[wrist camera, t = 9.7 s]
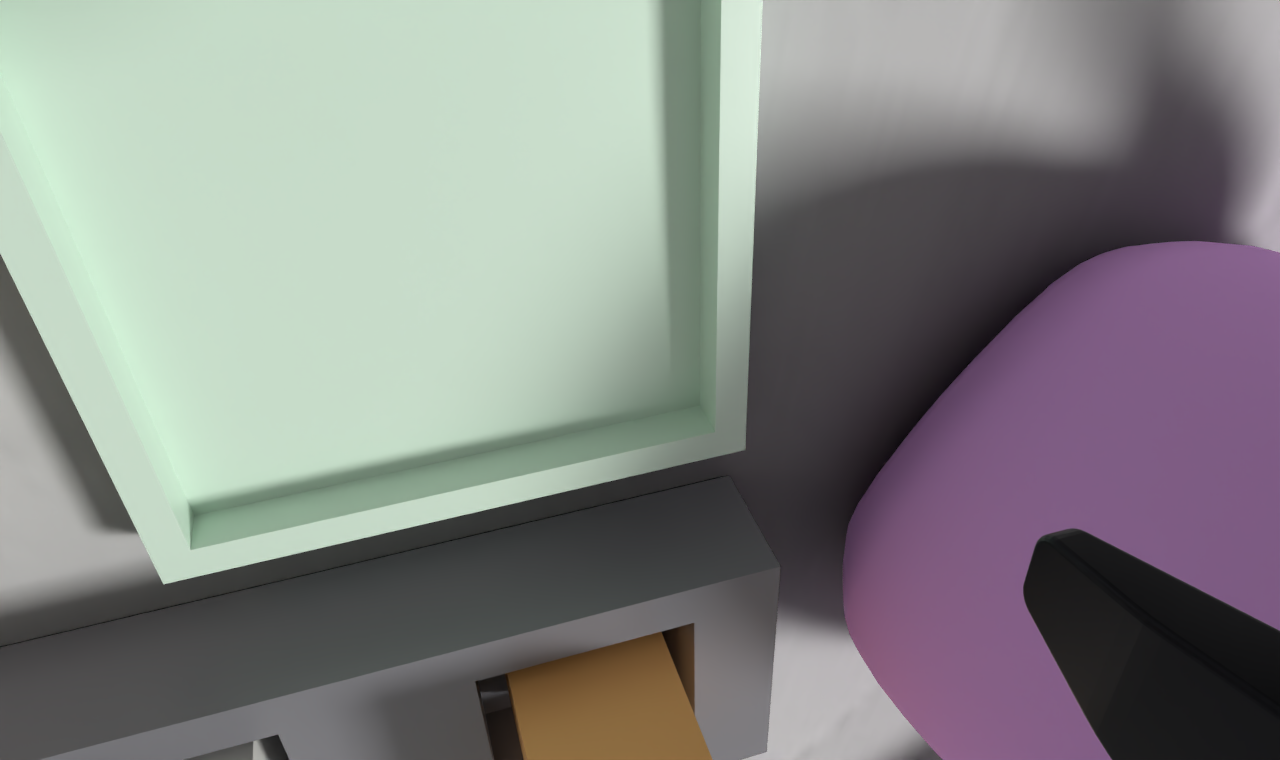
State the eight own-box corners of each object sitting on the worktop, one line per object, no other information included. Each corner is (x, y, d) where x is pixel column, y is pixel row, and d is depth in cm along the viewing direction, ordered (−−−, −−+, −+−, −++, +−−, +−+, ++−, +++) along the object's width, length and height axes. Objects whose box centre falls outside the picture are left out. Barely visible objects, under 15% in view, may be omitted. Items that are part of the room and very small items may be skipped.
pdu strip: (729, 475, 26) (780, 566, 24) (724, 658, 31) (766, 752, 28) (-84, 667, 22) (-136, 805, 19) (54, 845, 27) (29, 976, 24)
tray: (736, -190, 17) (769, -181, 16) (724, 414, 25) (745, 450, 24) (-138, -122, 14) (-176, -104, 13) (169, 537, 22) (163, 584, 21)
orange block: (634, 564, 26) (724, 790, 21) (639, 655, 29) (721, 880, 23) (491, 599, 26) (546, 845, 20) (508, 690, 28) (562, 932, 23)
